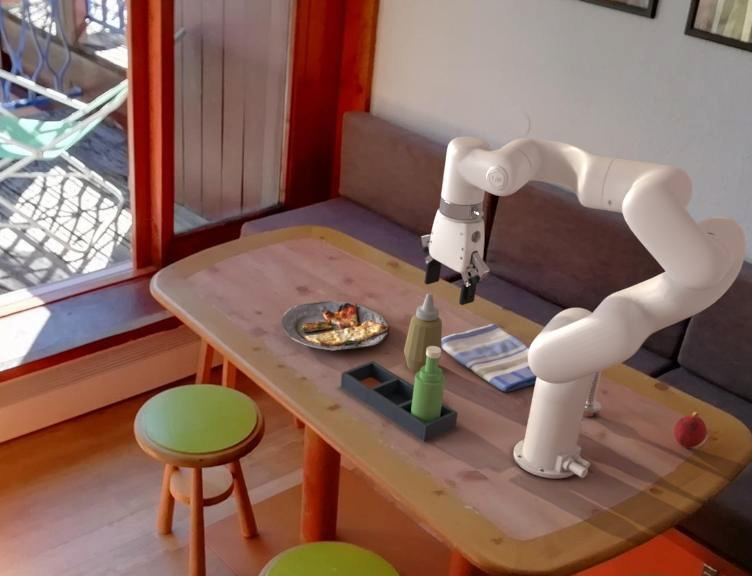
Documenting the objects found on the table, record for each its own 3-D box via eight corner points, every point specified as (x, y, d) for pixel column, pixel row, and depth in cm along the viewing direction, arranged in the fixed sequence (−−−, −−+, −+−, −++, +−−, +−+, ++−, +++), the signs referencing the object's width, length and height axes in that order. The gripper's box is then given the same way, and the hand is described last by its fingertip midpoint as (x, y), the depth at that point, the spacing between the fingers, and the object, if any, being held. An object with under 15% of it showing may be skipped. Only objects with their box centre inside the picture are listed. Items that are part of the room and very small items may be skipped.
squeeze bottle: (438, 379, 228) (448, 304, 218) (400, 374, 229) (409, 300, 219) (439, 360, 234) (449, 287, 225) (403, 356, 236) (411, 283, 226)
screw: (588, 422, 214) (569, 411, 217) (604, 415, 216) (585, 404, 220) (601, 367, 207) (581, 357, 210) (617, 360, 210) (597, 350, 213)
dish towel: (493, 330, 247) (495, 319, 245) (564, 377, 229) (566, 366, 228) (434, 346, 240) (435, 335, 238) (502, 396, 222) (504, 384, 221)
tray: (455, 429, 211) (457, 412, 209) (423, 443, 206) (426, 426, 204) (371, 376, 228) (372, 360, 226) (340, 388, 223) (341, 372, 221)
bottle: (444, 426, 211) (455, 351, 202) (424, 435, 208) (434, 360, 199) (424, 413, 215) (433, 339, 206) (403, 422, 212) (412, 347, 203)
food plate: (363, 303, 257) (364, 290, 256) (405, 348, 239) (407, 334, 237) (267, 316, 250) (267, 303, 249) (302, 364, 232) (303, 350, 230)
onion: (697, 459, 204) (708, 424, 199) (667, 449, 206) (676, 415, 202) (704, 444, 208) (714, 410, 204) (673, 435, 210) (683, 401, 206)
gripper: (510, 219, 185) (495, 306, 194) (444, 188, 198) (433, 271, 207) (478, 228, 182) (465, 316, 191) (413, 195, 194) (403, 279, 203)
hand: (448, 292), depth 199 cm, fingers open, 9 cm apart
